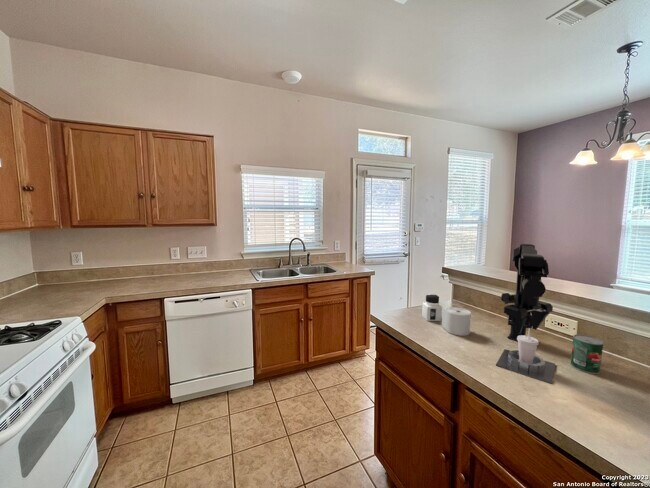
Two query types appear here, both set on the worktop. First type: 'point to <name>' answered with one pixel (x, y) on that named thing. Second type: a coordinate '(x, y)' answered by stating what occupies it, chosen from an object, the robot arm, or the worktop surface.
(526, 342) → the smoothie
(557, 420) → the worktop surface
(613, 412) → the worktop surface
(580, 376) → the worktop surface
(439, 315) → the container
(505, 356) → the duct collar
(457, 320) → the toilet tissue
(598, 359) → the canned tomato
